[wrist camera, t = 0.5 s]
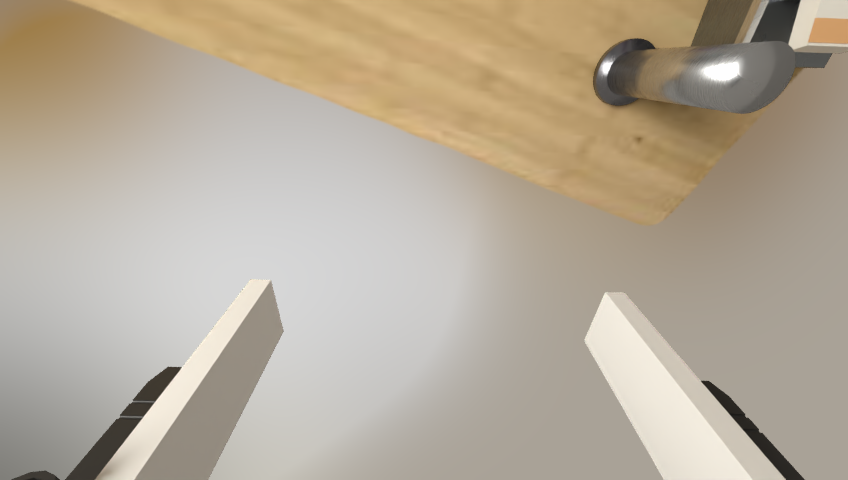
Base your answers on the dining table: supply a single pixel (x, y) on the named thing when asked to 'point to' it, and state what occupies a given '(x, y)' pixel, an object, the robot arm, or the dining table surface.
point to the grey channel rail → (753, 26)
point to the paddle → (821, 27)
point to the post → (696, 74)
